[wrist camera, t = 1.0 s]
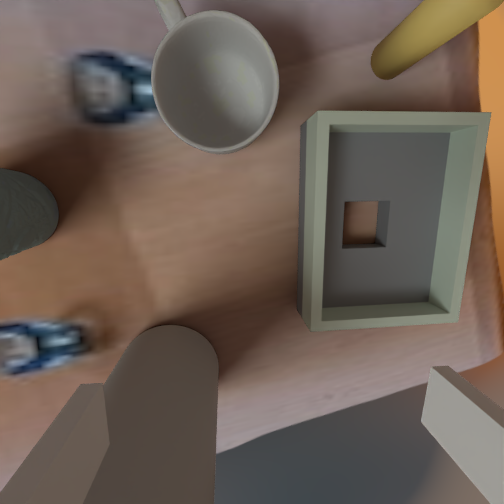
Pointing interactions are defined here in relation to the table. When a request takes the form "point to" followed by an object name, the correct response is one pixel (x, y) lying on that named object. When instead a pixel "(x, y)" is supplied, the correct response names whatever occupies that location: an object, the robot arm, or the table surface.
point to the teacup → (213, 79)
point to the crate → (387, 216)
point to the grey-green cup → (24, 212)
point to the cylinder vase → (160, 422)
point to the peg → (426, 33)
